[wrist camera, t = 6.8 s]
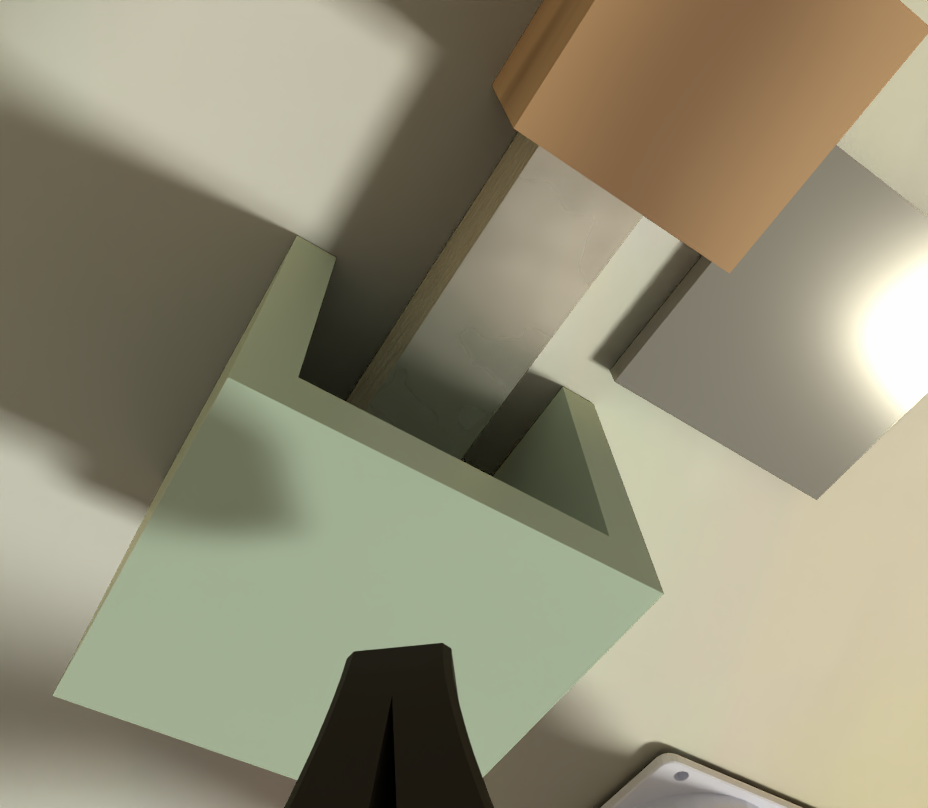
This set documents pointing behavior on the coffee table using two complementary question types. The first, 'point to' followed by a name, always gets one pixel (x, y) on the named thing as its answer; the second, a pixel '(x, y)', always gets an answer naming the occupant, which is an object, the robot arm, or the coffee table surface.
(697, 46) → the walnut block
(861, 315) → the slate coaster
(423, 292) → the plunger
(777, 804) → the robot arm
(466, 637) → the sleeve
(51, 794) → the coffee table surface
